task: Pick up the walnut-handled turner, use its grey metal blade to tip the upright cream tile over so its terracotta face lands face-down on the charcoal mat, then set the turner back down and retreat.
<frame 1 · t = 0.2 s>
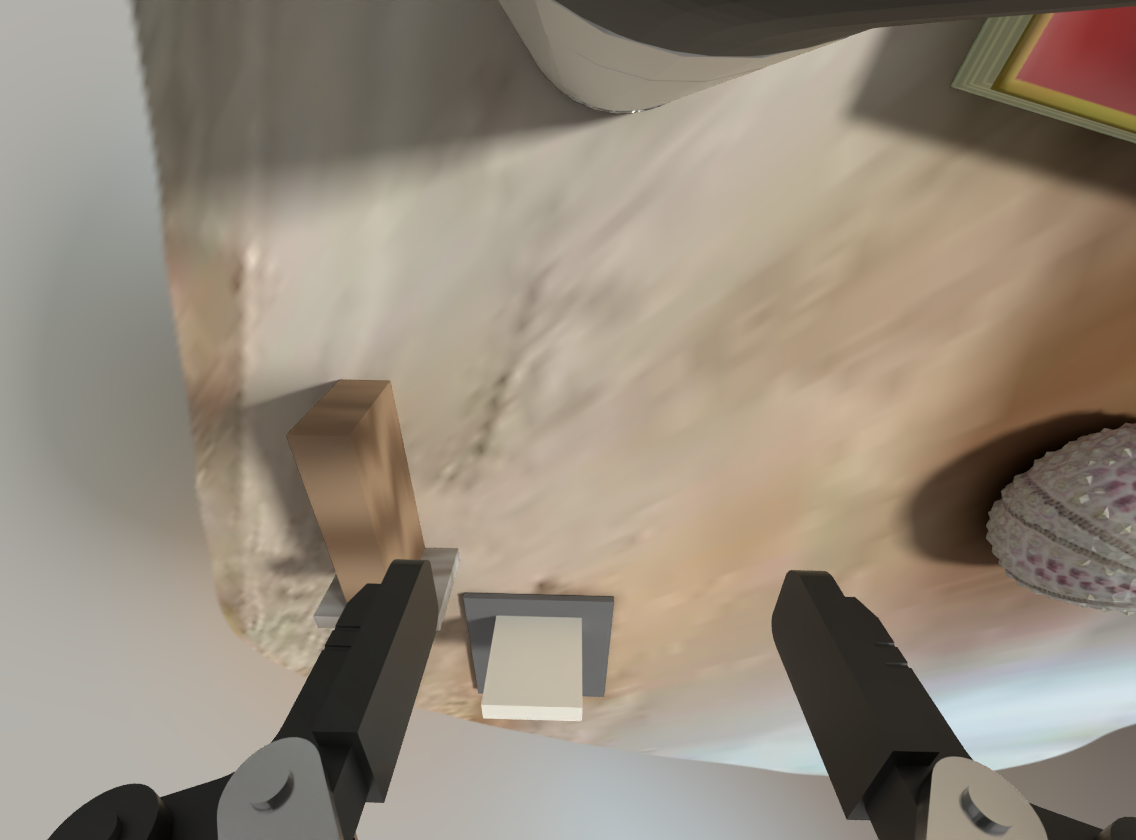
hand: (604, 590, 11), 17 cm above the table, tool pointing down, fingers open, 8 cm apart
mat: (540, 646, 41), on the table
tile: (539, 623, 38), resting on mat
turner: (387, 473, 31), on the table
sea urchin shell: (1073, 487, 31), on the table
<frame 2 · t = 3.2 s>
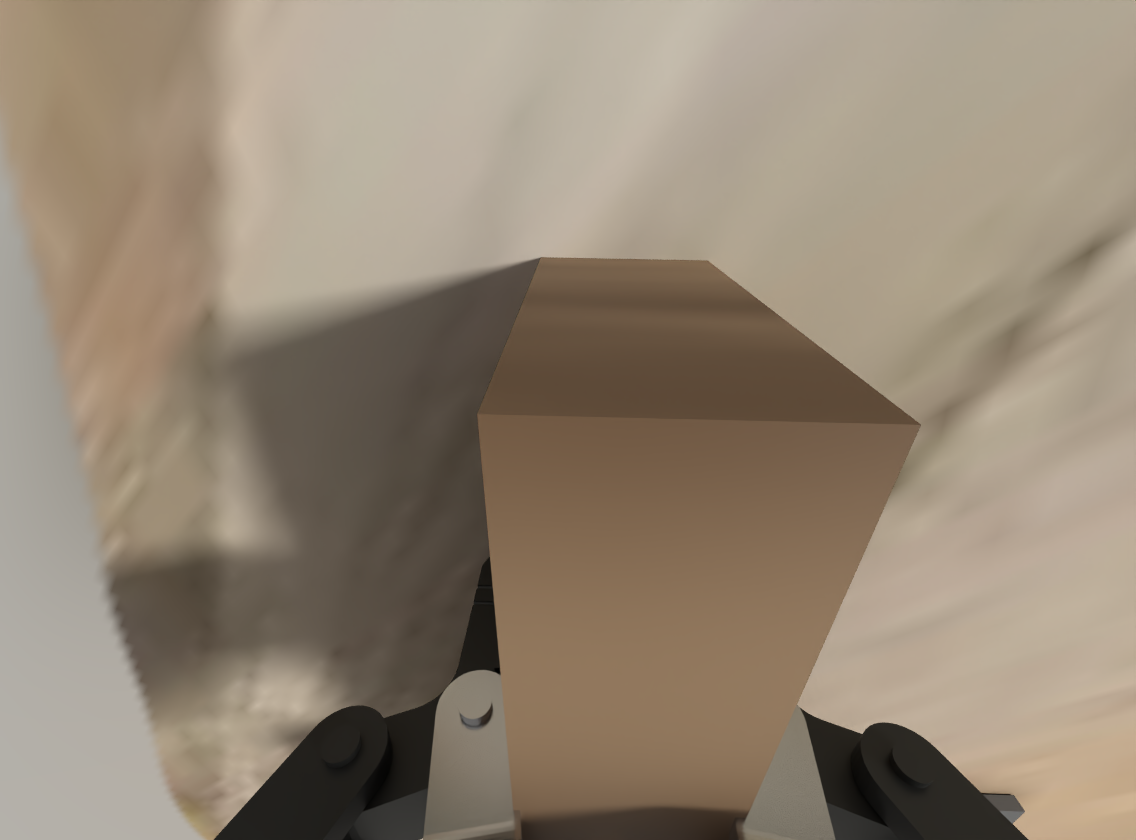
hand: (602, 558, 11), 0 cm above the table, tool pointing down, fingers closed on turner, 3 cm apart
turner: (603, 545, 12), on the table, touching gripper
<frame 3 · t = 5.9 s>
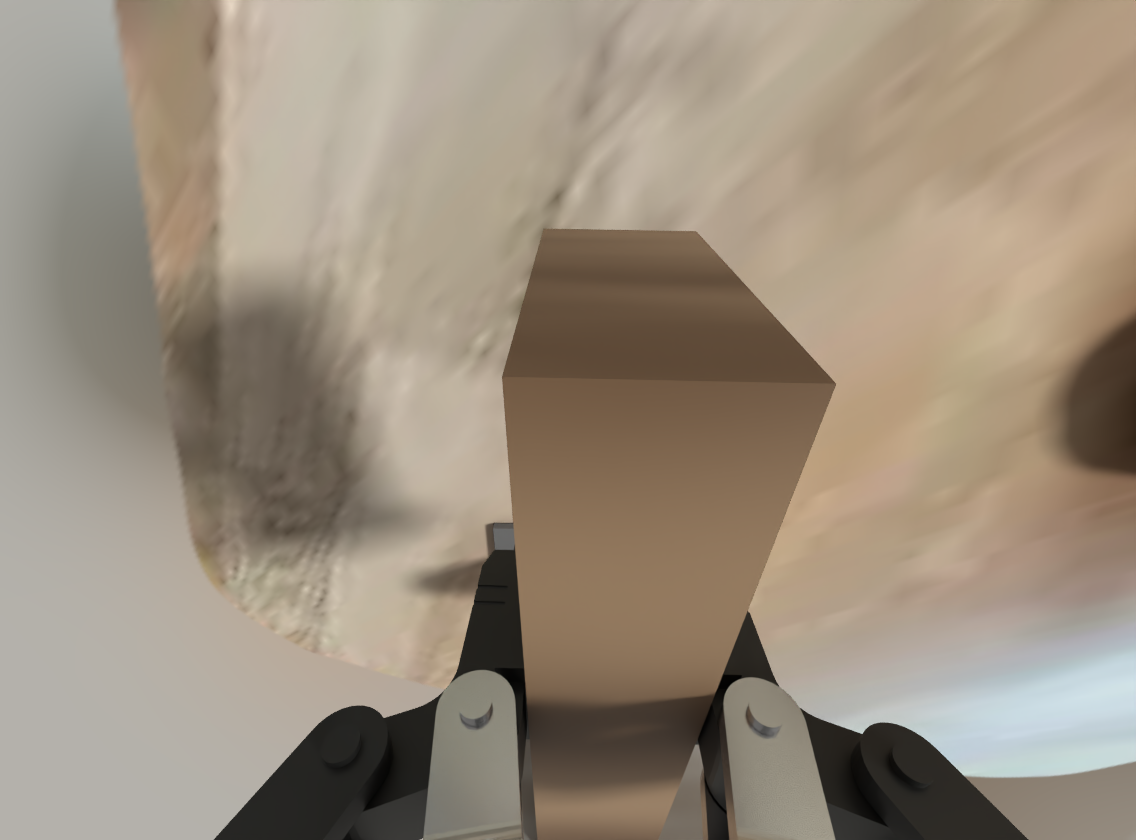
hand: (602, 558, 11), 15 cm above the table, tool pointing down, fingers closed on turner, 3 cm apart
mat: (583, 598, 34), on the table
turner: (600, 492, 13), point 13 cm above the table, tilted 5°, touching gripper
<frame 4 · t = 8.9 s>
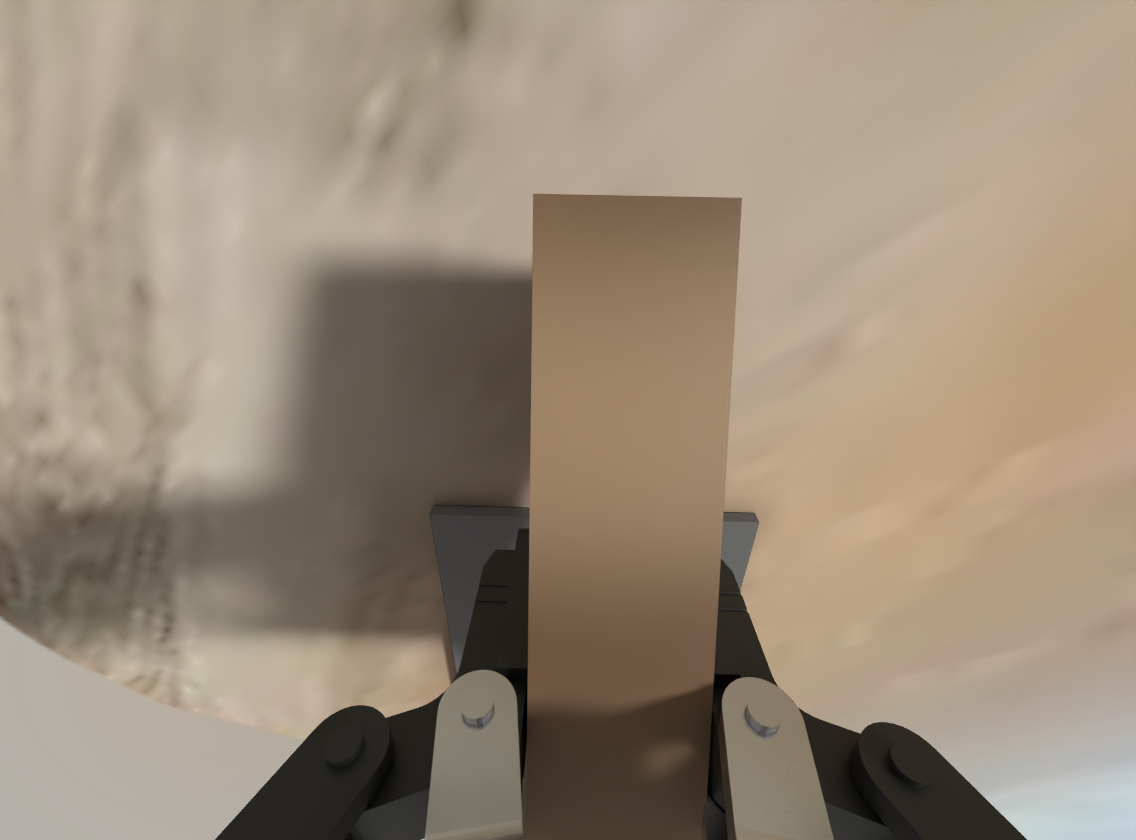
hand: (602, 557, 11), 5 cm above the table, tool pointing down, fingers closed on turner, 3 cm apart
mat: (587, 631, 21), on the table
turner: (598, 526, 13), point 3 cm above the table, tilted 23°, touching gripper
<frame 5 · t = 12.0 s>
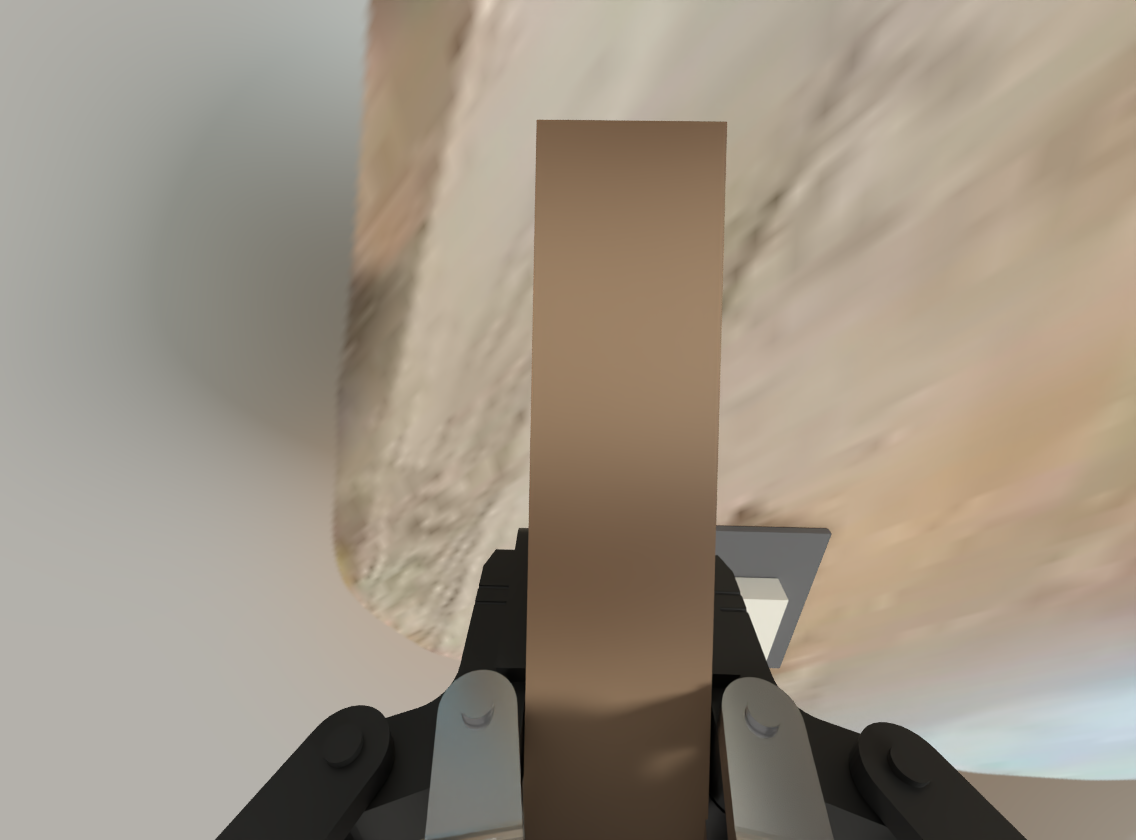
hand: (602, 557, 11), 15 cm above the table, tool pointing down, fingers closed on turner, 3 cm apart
mat: (716, 599, 34), on the table
tile: (730, 587, 31), point 1 cm above the table, tilted 90°, touching mat
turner: (601, 494, 13), point 12 cm above the table, tilted 28°, touching gripper
when the fingers open (2 cm above the table, at t = 14.6 s): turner stays where it is, on the table.
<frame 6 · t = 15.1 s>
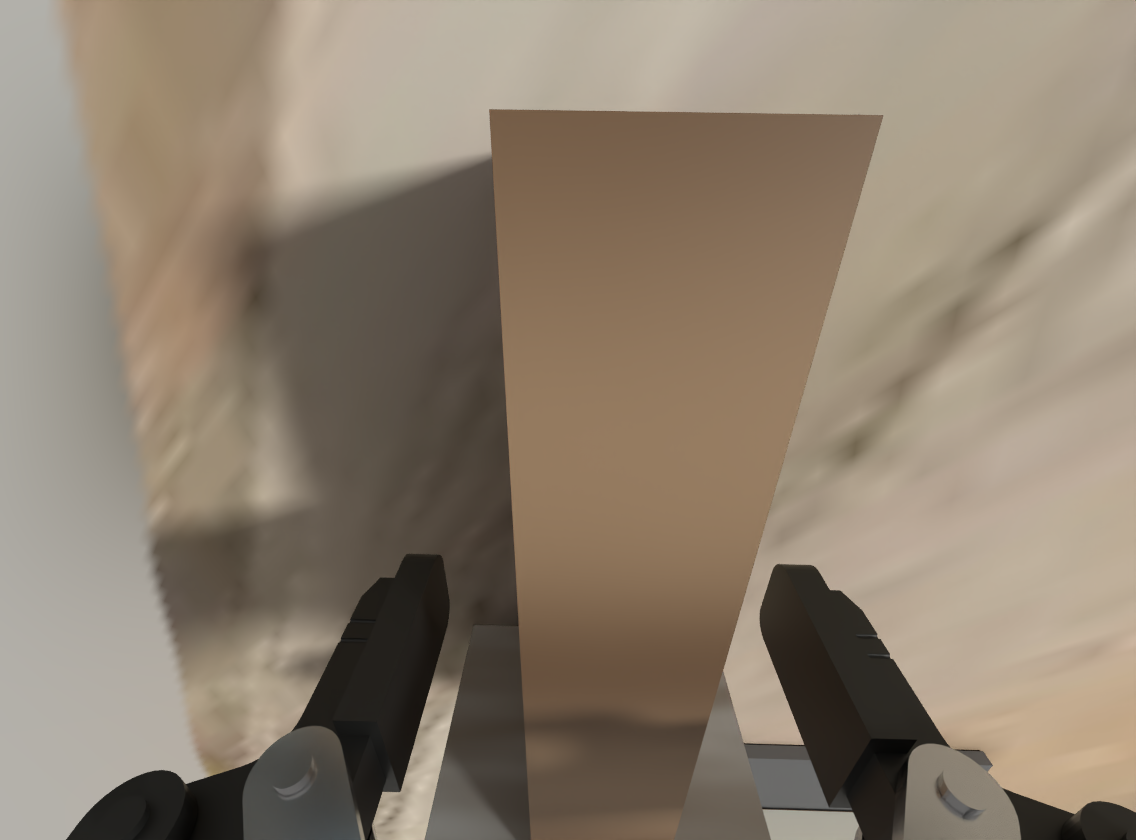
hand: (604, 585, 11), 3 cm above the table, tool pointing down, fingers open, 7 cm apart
mat: (790, 824, 22), on the table
tile: (822, 837, 19), point 1 cm above the table, tilted 90°, touching mat
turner: (602, 452, 12), on the table
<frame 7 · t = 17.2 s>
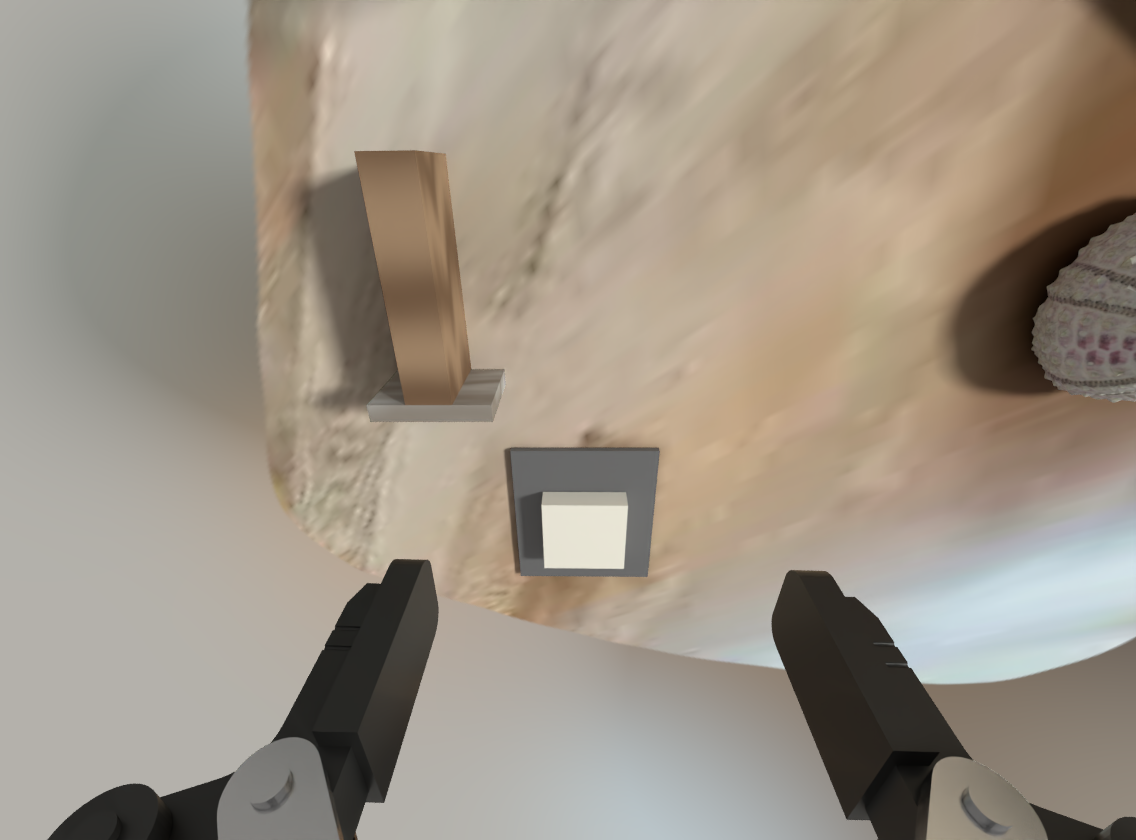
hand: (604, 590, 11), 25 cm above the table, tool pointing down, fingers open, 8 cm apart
mat: (584, 515, 41), on the table
tile: (584, 498, 38), point 1 cm above the table, tilted 90°, touching mat
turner: (437, 273, 31), on the table
sea urchin shell: (1115, 294, 31), on the table
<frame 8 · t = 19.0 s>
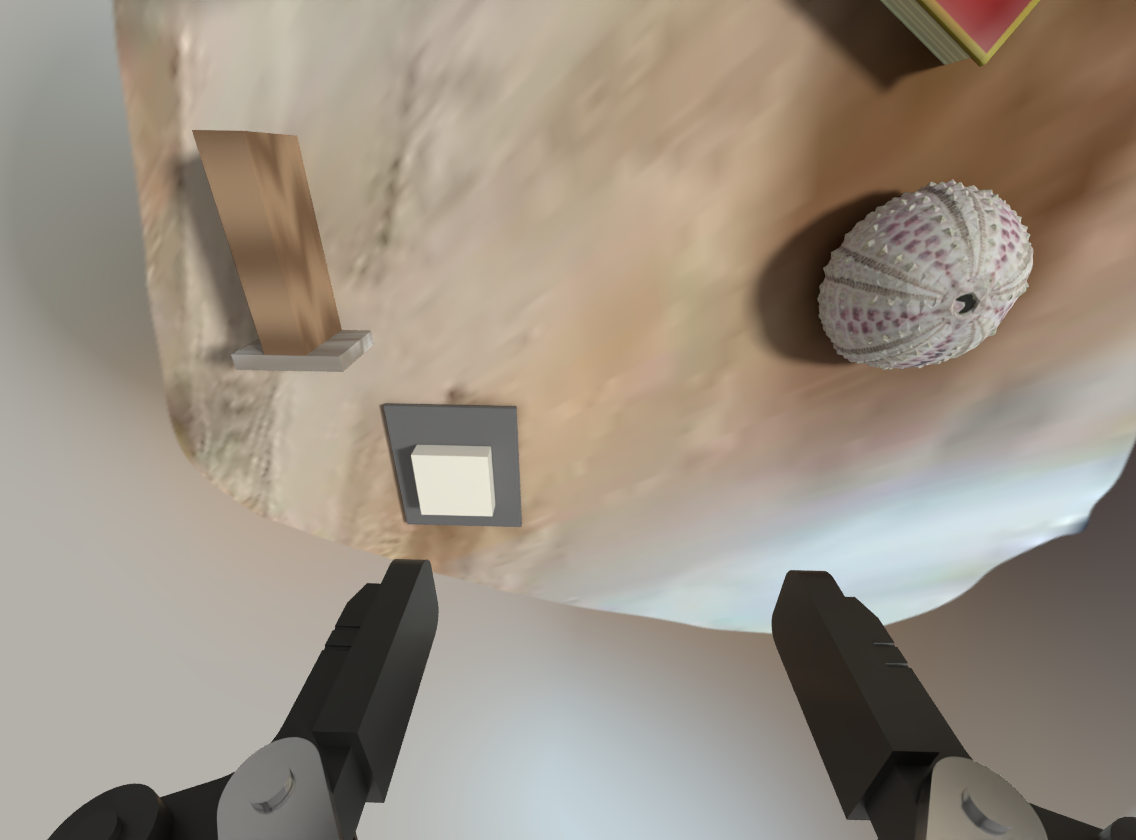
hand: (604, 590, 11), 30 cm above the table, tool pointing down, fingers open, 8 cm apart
mat: (458, 467, 46), on the table
tile: (451, 450, 43), point 1 cm above the table, tilted 90°, touching mat
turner: (302, 241, 36), on the table
sea urchin shell: (891, 276, 36), on the table
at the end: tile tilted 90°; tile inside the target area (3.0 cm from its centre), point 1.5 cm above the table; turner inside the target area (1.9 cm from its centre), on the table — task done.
